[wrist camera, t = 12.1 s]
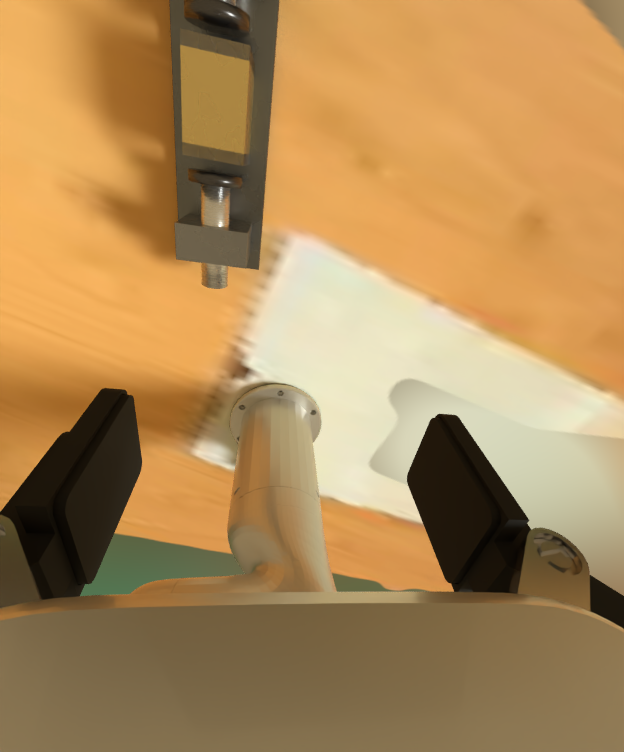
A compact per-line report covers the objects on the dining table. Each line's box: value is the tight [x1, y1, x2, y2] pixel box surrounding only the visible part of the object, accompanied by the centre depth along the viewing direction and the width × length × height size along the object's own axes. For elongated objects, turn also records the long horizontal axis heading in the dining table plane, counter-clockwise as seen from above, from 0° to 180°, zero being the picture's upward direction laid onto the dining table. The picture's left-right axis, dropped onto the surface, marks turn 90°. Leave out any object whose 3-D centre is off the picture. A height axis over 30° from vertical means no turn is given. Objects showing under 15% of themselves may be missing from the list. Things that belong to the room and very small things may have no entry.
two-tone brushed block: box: [180, 28, 255, 166], centre depth 27 cm, size 7×4×6 cm, turn 170°
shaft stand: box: [170, 0, 279, 289], centre depth 28 cm, size 28×8×7 cm, turn 171°
